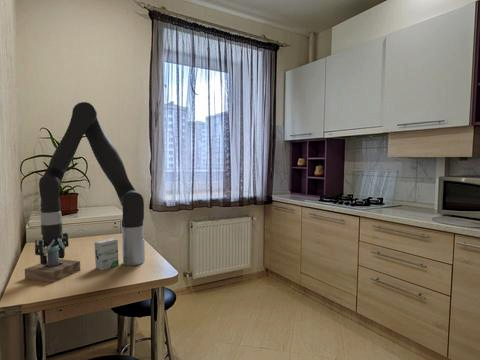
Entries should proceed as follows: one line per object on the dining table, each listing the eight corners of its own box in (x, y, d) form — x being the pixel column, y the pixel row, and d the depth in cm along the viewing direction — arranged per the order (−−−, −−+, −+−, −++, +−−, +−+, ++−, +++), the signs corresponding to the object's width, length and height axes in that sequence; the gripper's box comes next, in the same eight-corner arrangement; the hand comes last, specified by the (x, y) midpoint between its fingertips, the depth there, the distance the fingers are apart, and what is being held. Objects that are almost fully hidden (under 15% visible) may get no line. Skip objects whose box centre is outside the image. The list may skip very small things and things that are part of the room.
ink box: (113, 263, 146) (112, 237, 145) (119, 265, 143) (118, 239, 142) (94, 268, 139) (93, 241, 139) (100, 270, 136) (99, 243, 136)
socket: (54, 267, 140) (53, 258, 140) (80, 270, 137) (80, 261, 136) (25, 278, 127) (24, 269, 127) (53, 282, 123) (52, 272, 123)
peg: (53, 272, 135) (52, 244, 134) (61, 273, 133) (60, 245, 133) (45, 275, 130) (44, 246, 130) (53, 276, 129) (52, 247, 129)
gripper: (43, 226, 123) (45, 267, 124) (72, 219, 136) (73, 256, 137) (28, 225, 125) (30, 266, 126) (58, 218, 138) (59, 255, 139)
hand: (53, 261), depth 131 cm, fingers open, 8 cm apart
